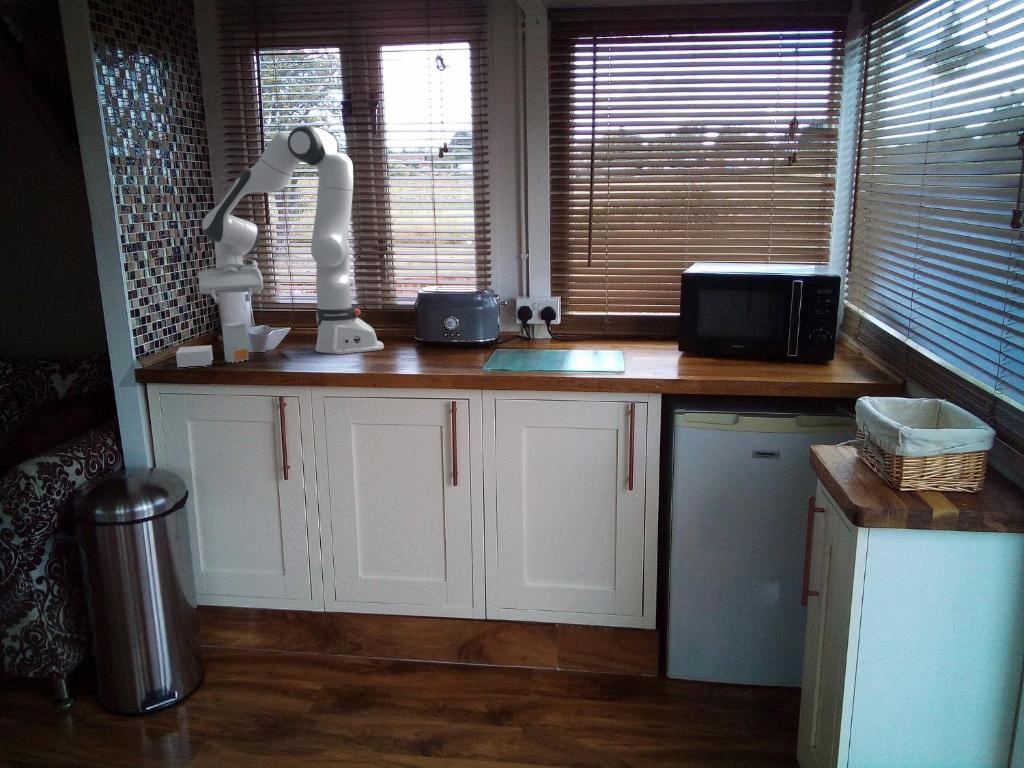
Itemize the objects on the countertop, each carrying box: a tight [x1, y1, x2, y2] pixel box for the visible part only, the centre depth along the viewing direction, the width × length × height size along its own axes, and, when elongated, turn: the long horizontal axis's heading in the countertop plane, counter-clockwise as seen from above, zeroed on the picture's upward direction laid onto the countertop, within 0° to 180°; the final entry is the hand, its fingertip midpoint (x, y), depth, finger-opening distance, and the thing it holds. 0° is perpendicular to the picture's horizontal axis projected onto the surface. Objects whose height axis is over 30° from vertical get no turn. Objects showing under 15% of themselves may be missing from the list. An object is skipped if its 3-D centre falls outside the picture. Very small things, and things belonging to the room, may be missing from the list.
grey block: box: [175, 344, 214, 368], centre depth 260 cm, size 10×10×5 cm
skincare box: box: [221, 321, 250, 364], centre depth 262 cm, size 6×4×12 cm
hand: (232, 301), depth 271 cm, fingers open, 8 cm apart
